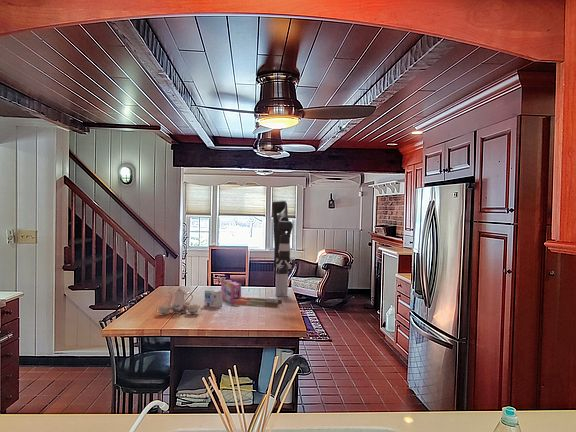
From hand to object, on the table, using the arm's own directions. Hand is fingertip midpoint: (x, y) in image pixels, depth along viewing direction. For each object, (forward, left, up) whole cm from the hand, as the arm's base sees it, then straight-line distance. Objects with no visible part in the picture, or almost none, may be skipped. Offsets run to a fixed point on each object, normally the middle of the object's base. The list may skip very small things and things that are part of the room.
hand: (284, 273), depth 312 cm
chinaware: (+40, -58, -23) cm, 74 cm away
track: (+1, -18, -23) cm, 29 cm away
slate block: (+1, -8, -22) cm, 23 cm away
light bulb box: (+12, -47, -23) cm, 53 cm away
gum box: (-12, -44, -23) cm, 51 cm away
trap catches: (+1, -29, -22) cm, 36 cm away
